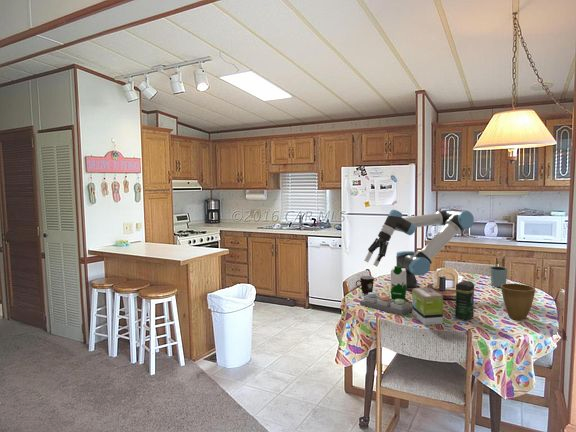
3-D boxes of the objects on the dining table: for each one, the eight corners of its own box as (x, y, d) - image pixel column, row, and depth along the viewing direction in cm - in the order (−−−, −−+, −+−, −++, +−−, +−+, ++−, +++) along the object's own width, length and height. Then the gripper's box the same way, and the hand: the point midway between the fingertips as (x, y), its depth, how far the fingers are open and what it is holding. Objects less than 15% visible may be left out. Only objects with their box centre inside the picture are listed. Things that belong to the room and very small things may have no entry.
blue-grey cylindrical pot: (507, 285, 259) (508, 267, 258) (506, 289, 250) (507, 270, 249) (490, 283, 264) (490, 265, 263) (488, 287, 256) (489, 268, 255)
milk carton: (389, 300, 233) (389, 267, 232) (392, 296, 242) (392, 263, 240) (405, 301, 230) (405, 268, 228) (407, 297, 238) (407, 264, 236)
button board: (412, 311, 213) (412, 302, 213) (402, 315, 207) (402, 307, 206) (370, 300, 234) (370, 292, 234) (359, 304, 228) (359, 296, 227)
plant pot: (540, 318, 197) (541, 287, 196) (524, 325, 189) (525, 292, 188) (509, 311, 210) (510, 281, 208) (494, 316, 202) (495, 286, 200)
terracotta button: (391, 300, 220) (391, 296, 220) (386, 302, 217) (386, 298, 217) (384, 299, 224) (384, 294, 223) (379, 301, 221) (379, 296, 220)
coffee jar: (469, 321, 196) (469, 285, 194) (453, 318, 201) (453, 282, 200) (475, 316, 203) (476, 281, 201) (460, 313, 208) (460, 278, 207)
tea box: (411, 315, 207) (411, 287, 206) (430, 314, 208) (430, 286, 207) (423, 325, 192) (423, 295, 191) (443, 324, 193) (443, 294, 192)
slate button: (378, 297, 227) (378, 293, 227) (373, 299, 224) (373, 295, 223) (371, 296, 230) (371, 291, 230) (366, 297, 227) (366, 293, 227)
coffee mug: (373, 290, 254) (373, 275, 253) (374, 294, 245) (374, 279, 244) (355, 290, 255) (354, 275, 254) (355, 294, 246) (355, 279, 246)
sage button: (405, 304, 213) (405, 299, 213) (400, 306, 210) (400, 301, 210) (398, 302, 217) (398, 298, 217) (393, 304, 214) (393, 300, 214)
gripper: (372, 228, 257) (357, 257, 256) (390, 232, 232) (373, 264, 232) (382, 233, 258) (367, 262, 258) (400, 238, 234) (384, 270, 233)
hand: (370, 263), depth 245 cm, fingers open, 13 cm apart
